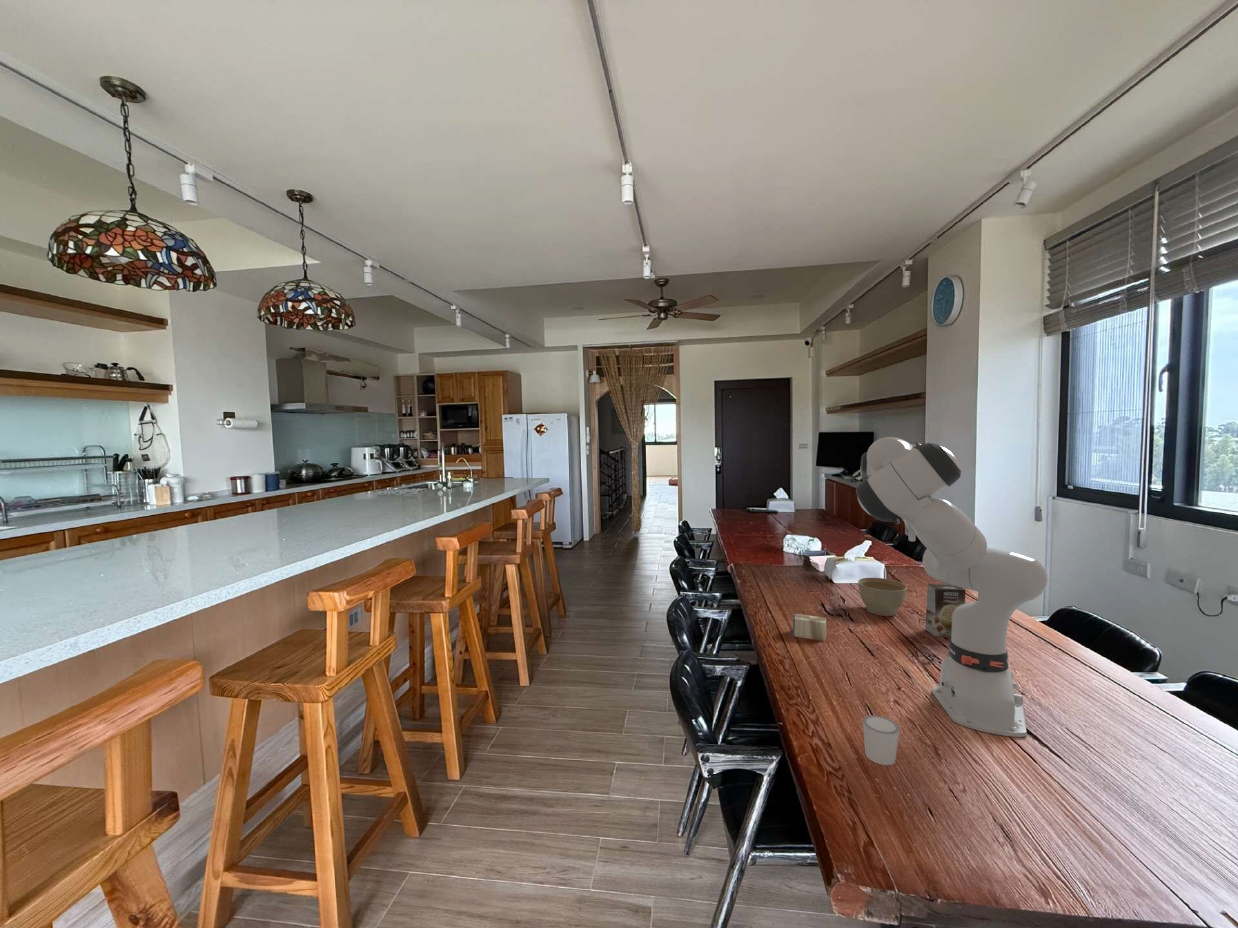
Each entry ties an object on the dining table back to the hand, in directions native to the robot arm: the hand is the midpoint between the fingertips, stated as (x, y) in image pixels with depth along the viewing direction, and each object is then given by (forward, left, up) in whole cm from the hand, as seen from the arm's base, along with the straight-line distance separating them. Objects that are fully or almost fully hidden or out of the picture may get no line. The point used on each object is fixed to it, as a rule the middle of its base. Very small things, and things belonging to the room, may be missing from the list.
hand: (910, 537), depth 157 cm
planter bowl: (+28, +6, -34) cm, 45 cm away
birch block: (-6, +24, -31) cm, 40 cm away
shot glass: (-66, +11, -34) cm, 75 cm away
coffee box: (+14, -12, -34) cm, 39 cm away
